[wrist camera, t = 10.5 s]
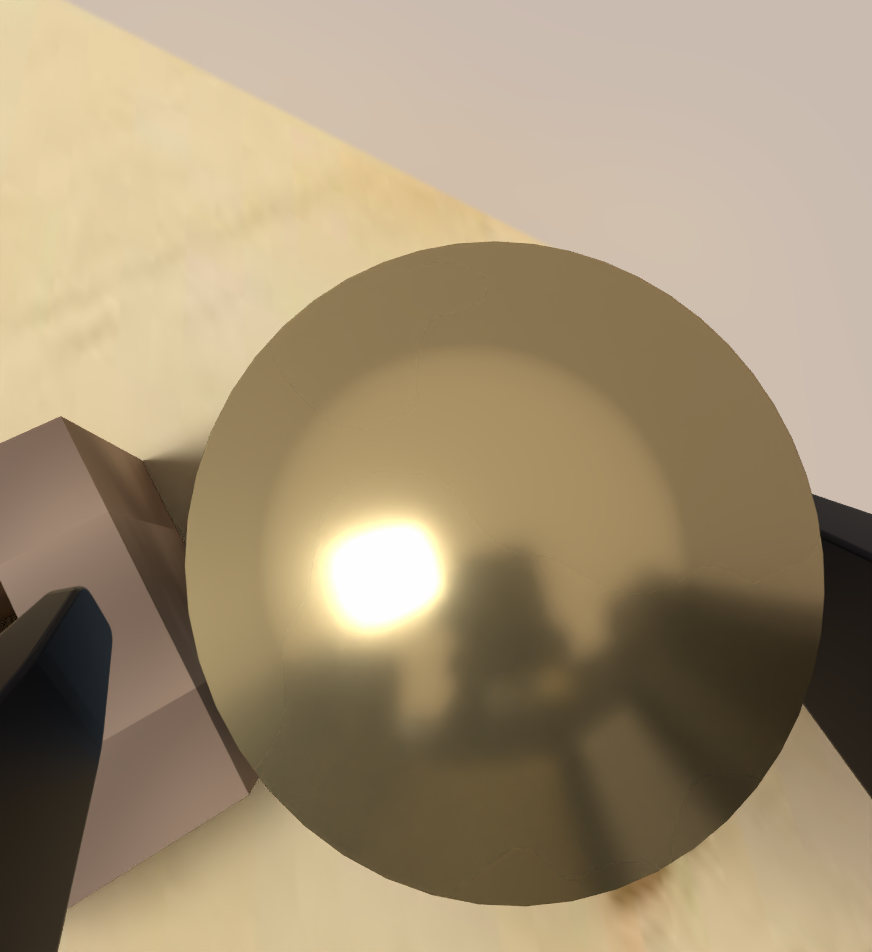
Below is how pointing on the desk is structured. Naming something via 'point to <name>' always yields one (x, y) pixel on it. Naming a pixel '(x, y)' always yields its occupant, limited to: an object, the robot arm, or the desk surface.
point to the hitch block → (120, 640)
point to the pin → (504, 573)
